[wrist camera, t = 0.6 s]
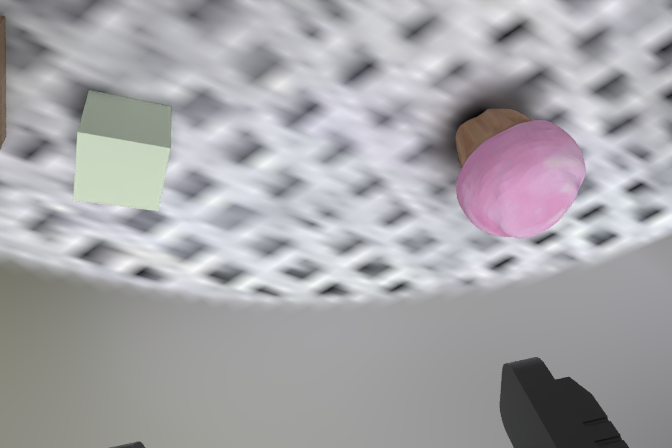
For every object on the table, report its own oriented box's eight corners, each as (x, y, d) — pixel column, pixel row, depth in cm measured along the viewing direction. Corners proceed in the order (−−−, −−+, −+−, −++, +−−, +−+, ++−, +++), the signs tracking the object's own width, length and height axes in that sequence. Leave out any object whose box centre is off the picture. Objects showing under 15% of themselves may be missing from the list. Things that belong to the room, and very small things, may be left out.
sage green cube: (84, 153, 35) (73, 200, 31) (89, 89, 32) (77, 131, 28) (160, 166, 37) (158, 211, 33) (171, 106, 34) (170, 148, 30)
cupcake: (448, 191, 45) (498, 276, 38) (413, 122, 39) (464, 206, 32) (543, 140, 43) (614, 218, 36) (520, 59, 37) (600, 133, 30)
